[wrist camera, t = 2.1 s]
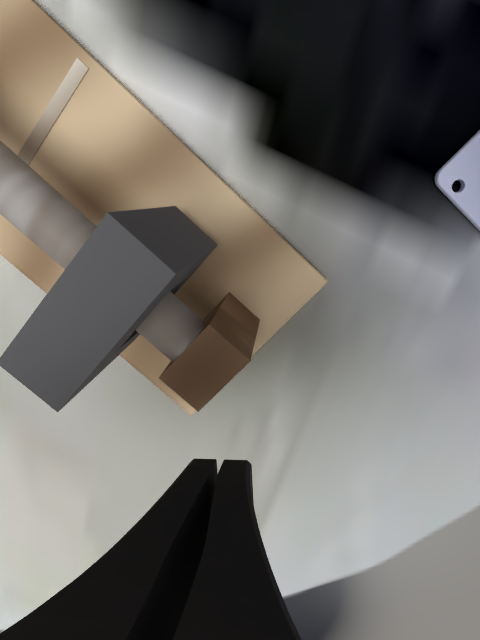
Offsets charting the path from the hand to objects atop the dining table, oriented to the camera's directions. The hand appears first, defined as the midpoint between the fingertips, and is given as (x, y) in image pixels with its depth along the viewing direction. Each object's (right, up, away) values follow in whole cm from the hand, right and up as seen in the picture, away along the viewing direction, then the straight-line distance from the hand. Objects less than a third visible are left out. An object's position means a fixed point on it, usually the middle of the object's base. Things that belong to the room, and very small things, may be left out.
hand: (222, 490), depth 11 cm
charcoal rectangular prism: (-3, +7, +7) cm, 10 cm away
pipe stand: (-6, +10, +9) cm, 14 cm away
